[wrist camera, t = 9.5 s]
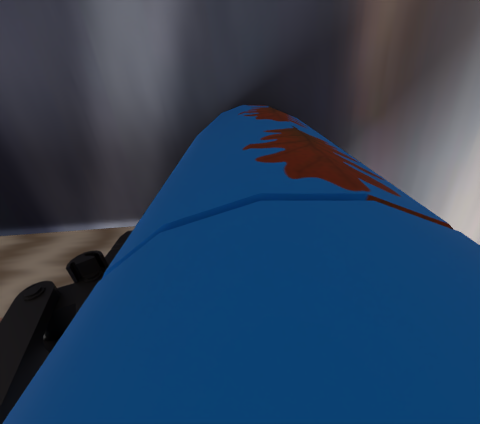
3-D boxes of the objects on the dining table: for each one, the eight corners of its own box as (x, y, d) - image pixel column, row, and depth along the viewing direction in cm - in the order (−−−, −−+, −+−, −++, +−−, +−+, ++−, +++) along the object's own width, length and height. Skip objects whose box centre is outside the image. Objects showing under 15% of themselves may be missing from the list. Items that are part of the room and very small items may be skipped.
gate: (-47, 252, 26) (-243, 373, 15) (-60, 237, 25) (-279, 357, 14) (167, 236, 25) (116, 353, 15) (163, 220, 24) (104, 334, 14)
